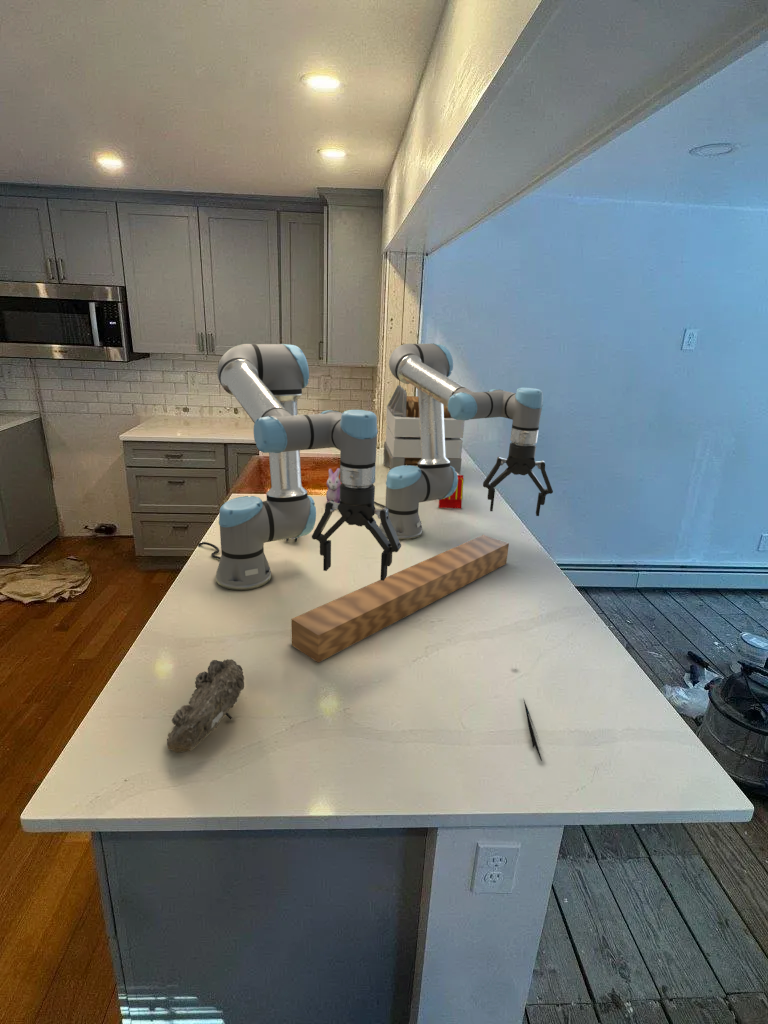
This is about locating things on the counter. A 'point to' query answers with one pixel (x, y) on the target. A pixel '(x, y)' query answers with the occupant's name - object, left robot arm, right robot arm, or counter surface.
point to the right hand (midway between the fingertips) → (514, 512)
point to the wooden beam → (393, 597)
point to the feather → (532, 731)
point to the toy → (454, 496)
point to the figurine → (333, 486)
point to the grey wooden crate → (416, 433)
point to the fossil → (206, 705)
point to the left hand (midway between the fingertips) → (355, 573)
